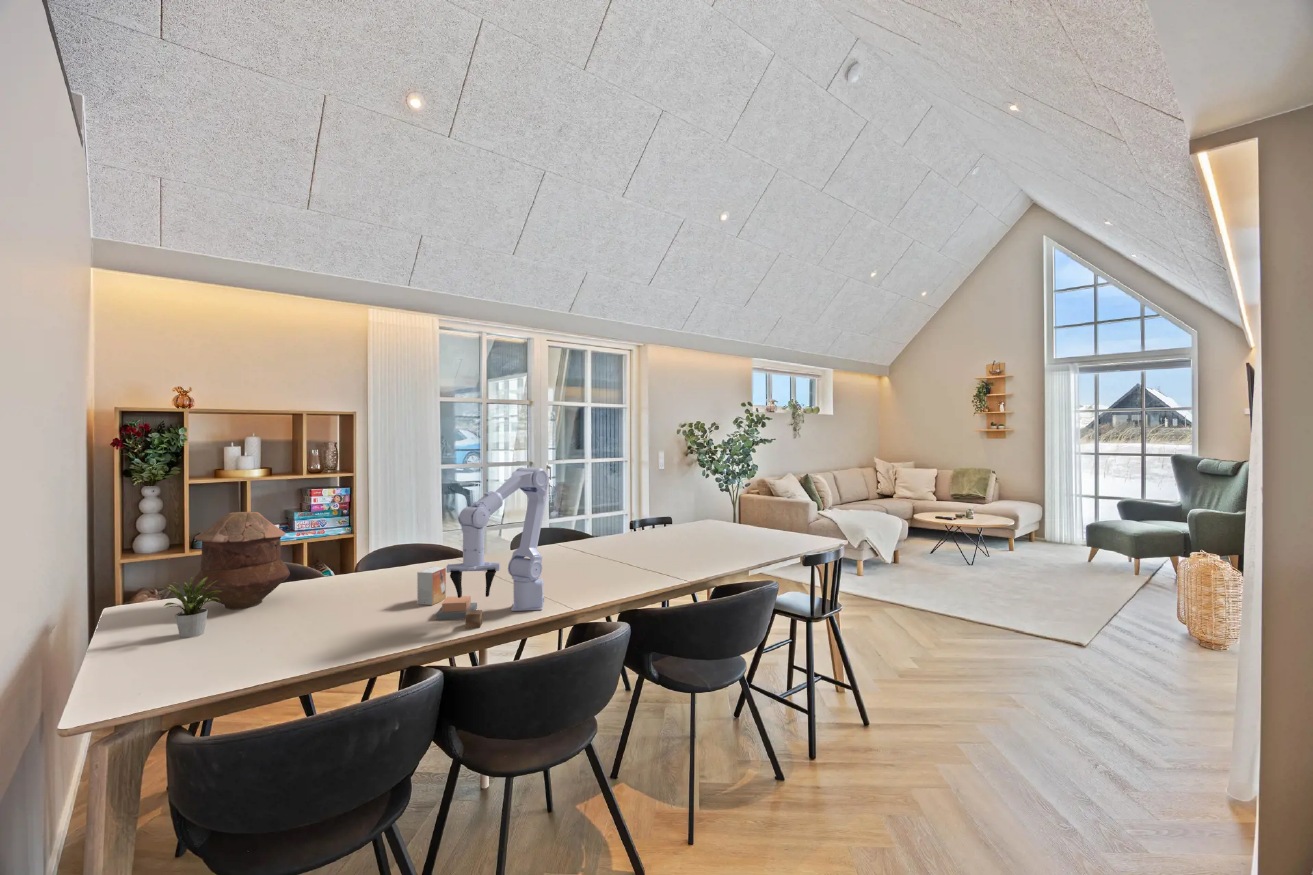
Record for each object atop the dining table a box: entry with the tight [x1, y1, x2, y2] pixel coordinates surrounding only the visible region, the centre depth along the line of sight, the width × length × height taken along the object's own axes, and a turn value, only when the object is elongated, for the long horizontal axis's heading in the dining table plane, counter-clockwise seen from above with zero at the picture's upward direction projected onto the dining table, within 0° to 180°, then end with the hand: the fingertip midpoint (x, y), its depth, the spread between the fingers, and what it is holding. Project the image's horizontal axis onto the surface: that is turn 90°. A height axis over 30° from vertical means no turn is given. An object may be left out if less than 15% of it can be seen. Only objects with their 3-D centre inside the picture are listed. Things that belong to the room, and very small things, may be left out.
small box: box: [416, 566, 447, 606], centre depth 191 cm, size 8×6×10 cm
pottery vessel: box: [192, 511, 291, 610], centre depth 188 cm, size 26×26×30 cm
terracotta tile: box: [441, 595, 472, 612], centre depth 178 cm, size 7×7×2 cm
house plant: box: [155, 574, 221, 639], centre depth 159 cm, size 14×14×16 cm
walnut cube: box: [464, 609, 483, 629], centre depth 167 cm, size 4×4×4 cm
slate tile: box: [435, 602, 478, 621], centre depth 178 cm, size 10×10×2 cm
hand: (473, 596), depth 167 cm, fingers open, 7 cm apart
